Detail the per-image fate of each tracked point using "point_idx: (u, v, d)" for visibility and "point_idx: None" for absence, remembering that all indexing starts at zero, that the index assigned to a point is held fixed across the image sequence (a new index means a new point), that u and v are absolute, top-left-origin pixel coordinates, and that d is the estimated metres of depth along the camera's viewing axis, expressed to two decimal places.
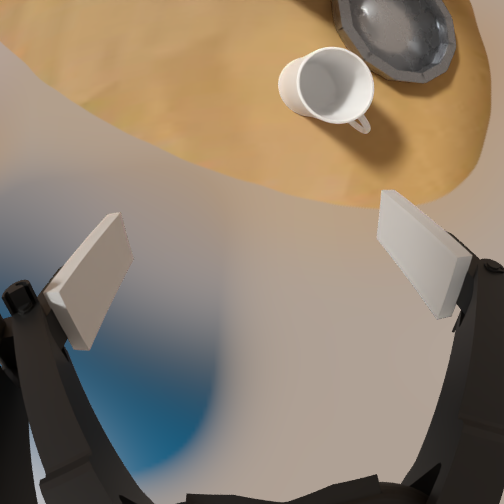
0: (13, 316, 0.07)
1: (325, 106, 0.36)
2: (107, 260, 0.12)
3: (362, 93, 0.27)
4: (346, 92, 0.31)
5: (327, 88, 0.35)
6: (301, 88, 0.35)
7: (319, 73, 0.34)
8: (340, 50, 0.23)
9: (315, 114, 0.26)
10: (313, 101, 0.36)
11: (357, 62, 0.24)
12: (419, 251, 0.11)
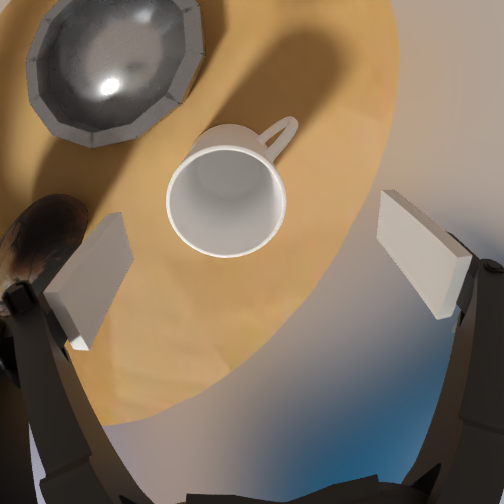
0: (13, 316, 0.07)
1: None
2: (107, 260, 0.12)
3: None
4: None
5: None
6: (232, 177, 0.30)
7: (209, 155, 0.29)
8: (170, 200, 0.19)
9: (272, 234, 0.21)
10: (250, 162, 0.29)
11: (184, 168, 0.19)
12: (419, 251, 0.11)
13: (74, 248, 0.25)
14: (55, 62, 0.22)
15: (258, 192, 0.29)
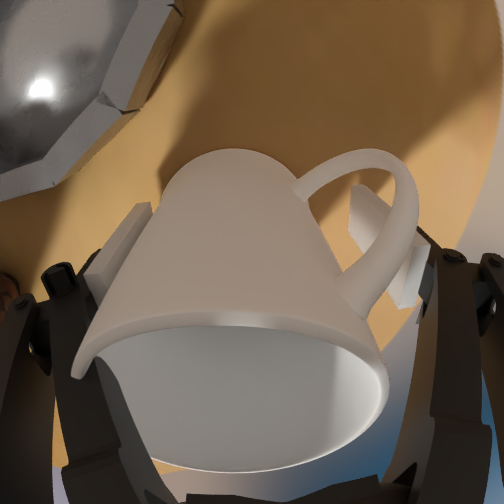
0: (51, 297, 0.08)
1: None
2: None
3: None
4: None
5: None
6: None
7: None
8: None
9: (334, 450, 0.08)
10: None
11: None
12: None
13: None
14: None
15: None
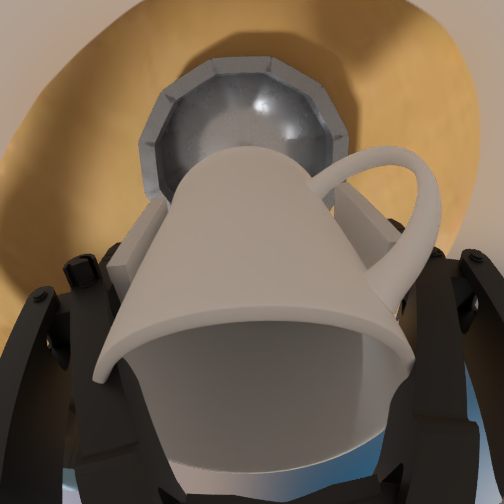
0: (72, 289, 0.08)
1: None
2: None
3: None
4: None
5: None
6: None
7: None
8: None
9: (357, 446, 0.08)
10: None
11: None
12: (362, 239, 0.12)
13: None
14: (171, 146, 0.27)
15: None
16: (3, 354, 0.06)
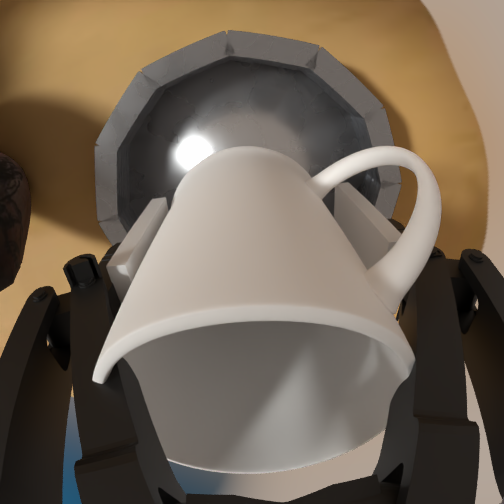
0: (72, 289, 0.08)
1: None
2: None
3: None
4: None
5: None
6: None
7: None
8: None
9: (357, 446, 0.07)
10: None
11: None
12: (362, 239, 0.12)
13: None
14: (225, 78, 0.16)
15: None
16: (3, 354, 0.06)
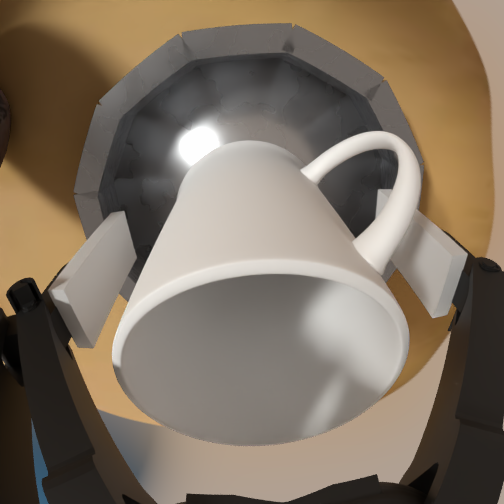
0: (17, 314, 0.07)
1: None
2: (111, 258, 0.12)
3: None
4: None
5: None
6: None
7: None
8: (126, 379, 0.07)
9: (361, 412, 0.08)
10: None
11: None
12: (415, 250, 0.11)
13: None
14: (267, 76, 0.14)
15: None
16: None
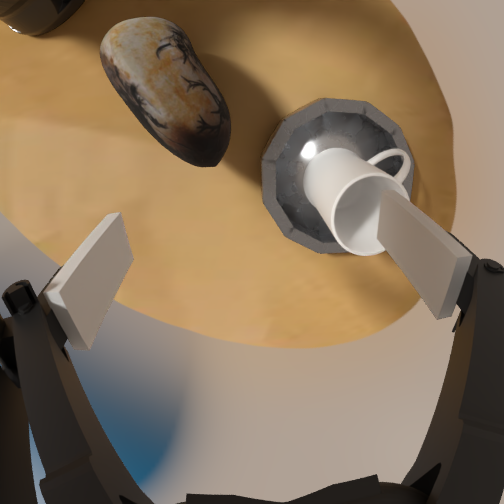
0: (13, 316, 0.07)
1: None
2: (107, 260, 0.12)
3: None
4: None
5: None
6: None
7: None
8: (334, 211, 0.25)
9: None
10: None
11: None
12: (419, 251, 0.11)
13: None
14: (350, 120, 0.32)
15: (364, 205, 0.34)
16: None
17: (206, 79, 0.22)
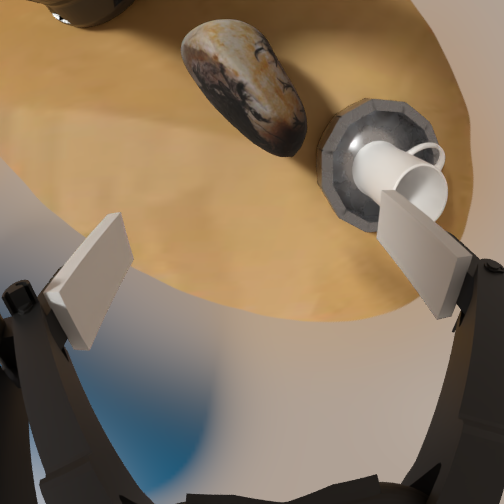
0: (13, 316, 0.07)
1: None
2: (107, 260, 0.12)
3: None
4: None
5: None
6: None
7: None
8: None
9: (439, 215, 0.30)
10: None
11: None
12: (419, 251, 0.11)
13: None
14: (389, 117, 0.35)
15: (403, 189, 0.38)
16: None
17: (290, 81, 0.25)
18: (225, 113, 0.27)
